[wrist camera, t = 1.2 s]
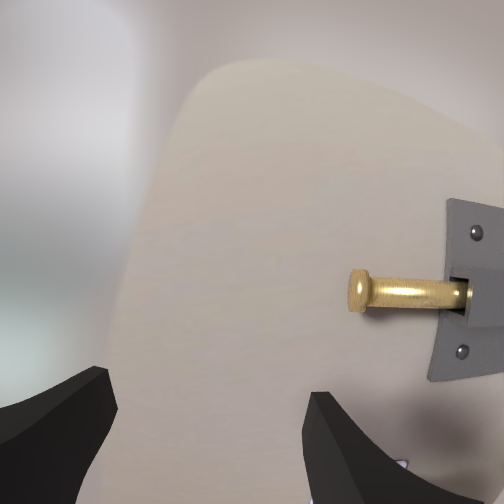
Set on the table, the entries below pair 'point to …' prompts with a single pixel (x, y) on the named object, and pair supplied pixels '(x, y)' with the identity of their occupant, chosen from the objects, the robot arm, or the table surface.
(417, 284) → the pin
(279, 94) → the table surface
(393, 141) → the table surface
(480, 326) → the hinge
